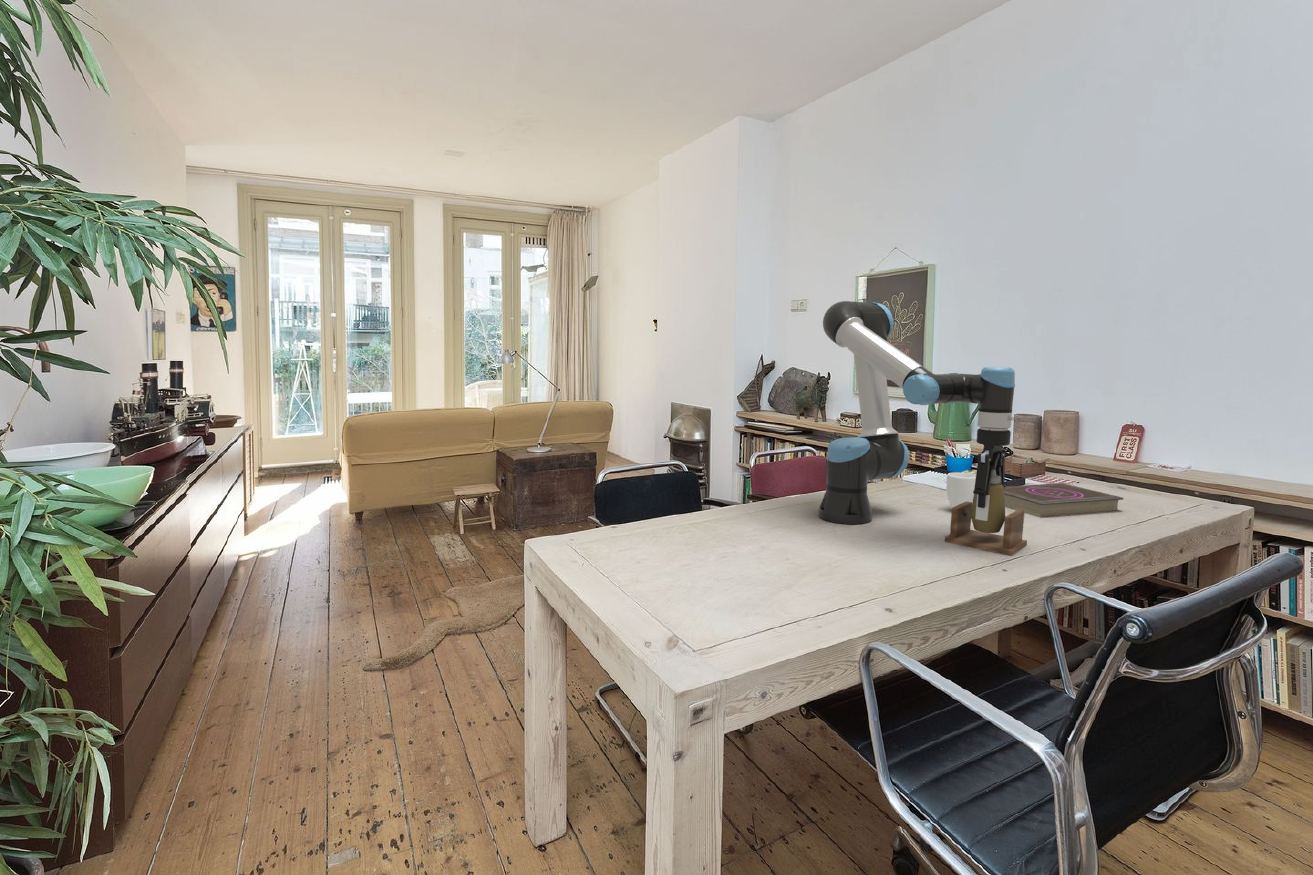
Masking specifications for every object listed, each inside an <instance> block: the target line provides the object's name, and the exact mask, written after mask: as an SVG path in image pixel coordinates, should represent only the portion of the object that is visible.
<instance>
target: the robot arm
mask: <svg viewBox="0 0 1313 875" xmlns="http://www.w3.org/2000/svg"><path fill="white" fill-rule="evenodd" d="M893 318H894V317H893V314H892V312H891V311H890V309H889V308H888V307H886V306H885V305H884V304H882V303H878V302H873V301H849V300H843V301H838V302H836V303H834V304H832V305H830V307H829V308H828V309H827V310H826V312H825V313H824V315H823V318H822V319H823V320H822V327H823V331H824V333H825V334H826V336H827V338H829V340H831V341H832V342H833V343H835V345H837V346H839V347H840V348H847V350H849V351H850V352H851V353H853V359H854V369H855V376H856V378H855V379H856V384H857V385H856V386H857V394H858V403H859V411H860V420H861V428H862V429H861V430H862V431H861V432H860V433H859V435H858V436H856V437H855V436H853V437H852V436H851V437H840V438H837V439H834V440H832V441H831V442H830V443H829V444H828V446H827V453H826V483H825V492H824V495H823V498H822V500H821V503H820V504H819V508H818V517H819V518H820V519H822V520H824V521H828V522H831V523H837V524H844V525H845V524H846V525H859V524H860V525H861V524H867V523H870V522H871V521H872V520H873V511H872V507H871V506H872V505H871V504H870V503H871V502H870V499H869V497H868V496H869V495H868V481H874V480H875V481H876V480H883V479H884V480H885V479H890V478H894V477H897V476H899V475H901V474H902V473H903V472H904V470H905V469H906V468H907V467H908V464H909V461H910V452H909V448H908V446H907V445H906V444H905V442H904V441H903V440H901V439H899V432H898V431H897V430H895V428H893V423H892V414H891V407H890V398H889V389H888V382H887V380H890V381H891V382H892V383H894V384H895V385H896V386H899V387H900V388H901V389H902V394H903V396H904V397H905V399H906V401H907V402H909V403H910V404H912V405H918V406H919V405H920V406H927V405H928V406H929V405H937V404H938V405H939V404H954V403H963V404H965V403H966V404H975V405H976V404H978V411H977V424H976V426H977V427H979V428H978V429H977V430H976V443H977V444H979V445H982V446H983V448H982V451H981V453H980V452H979V453H978V454H977V466H976V472H975V475H976V480H975V488H974V491H973V493H974V494H977V504H976V518H975V519H978V520H984V521H988V512H989V499H990V495H988V492H989V488H990V483H991V478H992V473H993V470H996V475H998V476H1000V477H1001V482H1000V483H999V484H1001V485H1002V486H1003V487H1004V489H1005V487H1006V486H1005V473H1006V453H1007V449H1006V448H1002V447H1004V446H1005V447H1006V446H1009V445H1010V443H1011V436H1012V435H1011V434H1012V432H1011V430H1009V429H1011V428H1012V421H1014V420H1015V417H1014V416H1012V415H1013V403H1014V395H1015V394H1014V393H1015V392H1014V391H1015V387H1016V384H1015V381H1016V380H1015V379H1016V378H1015V374H1016V372H1015V370H1014V368H1012V367H1010V366H1009V367H1007V366H1006V367H1005V366H1002V367H1001V366H1000V367H999V366H997V367H996V366H984V367H983V368H982V369H981V372H980V374H973V373H972V374H969V373H958V372H949V373H942V374H940V373H939V374H937V373H936V374H935V373H933V372H932V371H931V370H929V369H927V368H925V366H923V365H921V364H920V363H918V362H917V361H915V360H914V359H912V358H911V357H910V356H908V355H907V354H905V352H902V351H901V350H900V349H898V348H897V347H895V345H892V344H891V343H890V342H888V338H889V337H890V336H891V335H892V332H891V331H893V330H894V319H893ZM981 488H982V489H981Z"/></svg>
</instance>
